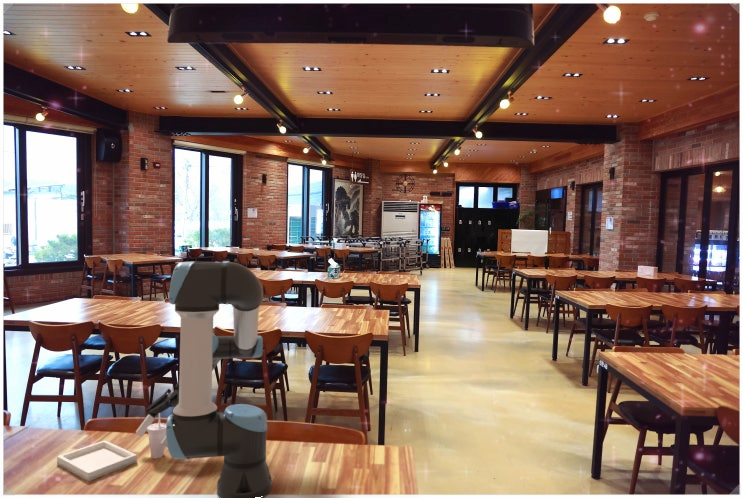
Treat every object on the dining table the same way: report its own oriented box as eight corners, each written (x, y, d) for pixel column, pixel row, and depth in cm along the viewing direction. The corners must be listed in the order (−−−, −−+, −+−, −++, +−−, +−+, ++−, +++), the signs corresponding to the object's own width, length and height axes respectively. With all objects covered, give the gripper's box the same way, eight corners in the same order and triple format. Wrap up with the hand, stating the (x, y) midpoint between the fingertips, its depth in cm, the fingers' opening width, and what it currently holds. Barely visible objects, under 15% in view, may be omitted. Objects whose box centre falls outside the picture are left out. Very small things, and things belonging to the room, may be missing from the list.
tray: (136, 462, 160) (136, 454, 160) (88, 481, 148) (88, 473, 147) (105, 447, 170) (105, 440, 170) (57, 463, 157) (57, 456, 157)
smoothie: (160, 461, 161) (160, 417, 161) (142, 459, 162) (142, 415, 162) (172, 452, 167) (172, 410, 167) (154, 450, 169) (155, 408, 168)
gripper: (222, 394, 170) (182, 455, 158) (175, 380, 184) (135, 435, 172) (209, 383, 166) (167, 444, 154) (162, 369, 179) (121, 424, 167)
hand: (150, 439), depth 163 cm, fingers open, 13 cm apart
